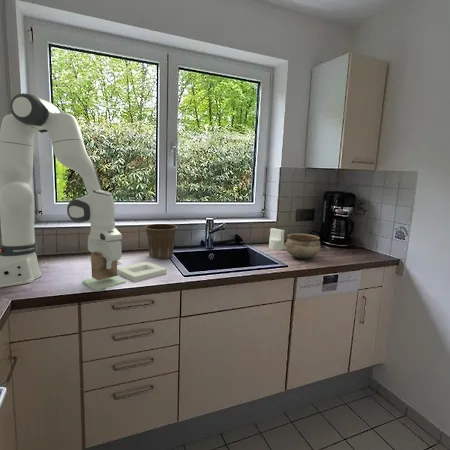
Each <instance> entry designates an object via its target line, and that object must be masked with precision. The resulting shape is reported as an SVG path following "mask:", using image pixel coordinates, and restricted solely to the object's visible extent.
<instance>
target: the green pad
mask: <svg viewBox="0 0 450 450" xmlns="http://www.w3.org/2000/svg"><path fill="white" fill-rule="evenodd" d="M126 282H127V281H126V280H124V279H123V278H120V277H118V276H114V277H110V278H106V279H102V280H96V279H94V278H92V277H91V278H87V279H82V281H81V283H82V284H84V285H85V286H87V287H88V288H91V289H92V290H94V291H95V292H98V291H99V292H100V291H103V290H106V289H107V288H110V287H114V286H118V285H122V284H125V283H126Z"/></svg>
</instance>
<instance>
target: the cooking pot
mask: <svg viewBox="0 0 450 450" xmlns="http://www.w3.org/2000/svg"><path fill="white" fill-rule="evenodd" d="M320 240H321V238H320V236H318V235H313V234H308V233H299V232H297V233H289V234H287V239H286V241H285V242H284V246H285V250H286V252H287V253H288V254H289V255H291V256H292V257H294V258H295V259H297V260H304V261H305V260H309V259H311V258H314V257H315V256H317V255H318V254H319V253H320V251H321V241H320Z"/></svg>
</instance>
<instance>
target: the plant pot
mask: <svg viewBox="0 0 450 450" xmlns="http://www.w3.org/2000/svg"><path fill="white" fill-rule="evenodd" d="M144 228H145V230H146V235H147V245H148V252H149V254H148V255H149V257H150V258H153V259H161V260H166V259H170V258H172V257H173V255H174V246H175V236H176V232H177V230H176V229H177V228H178V226H177V225H174V224H168V223H154V224H153V223H152V224H148V225H146V226H145V227H144Z"/></svg>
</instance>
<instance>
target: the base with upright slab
mask: <svg viewBox="0 0 450 450" xmlns="http://www.w3.org/2000/svg"><path fill="white" fill-rule="evenodd" d="M269 230H270V231H269V239H268V240H269V242H268V249H269V250H271V251H282V250H284V246H285V245H284V244H285V229H279V228H274V227H271V228H270V229H269Z"/></svg>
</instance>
